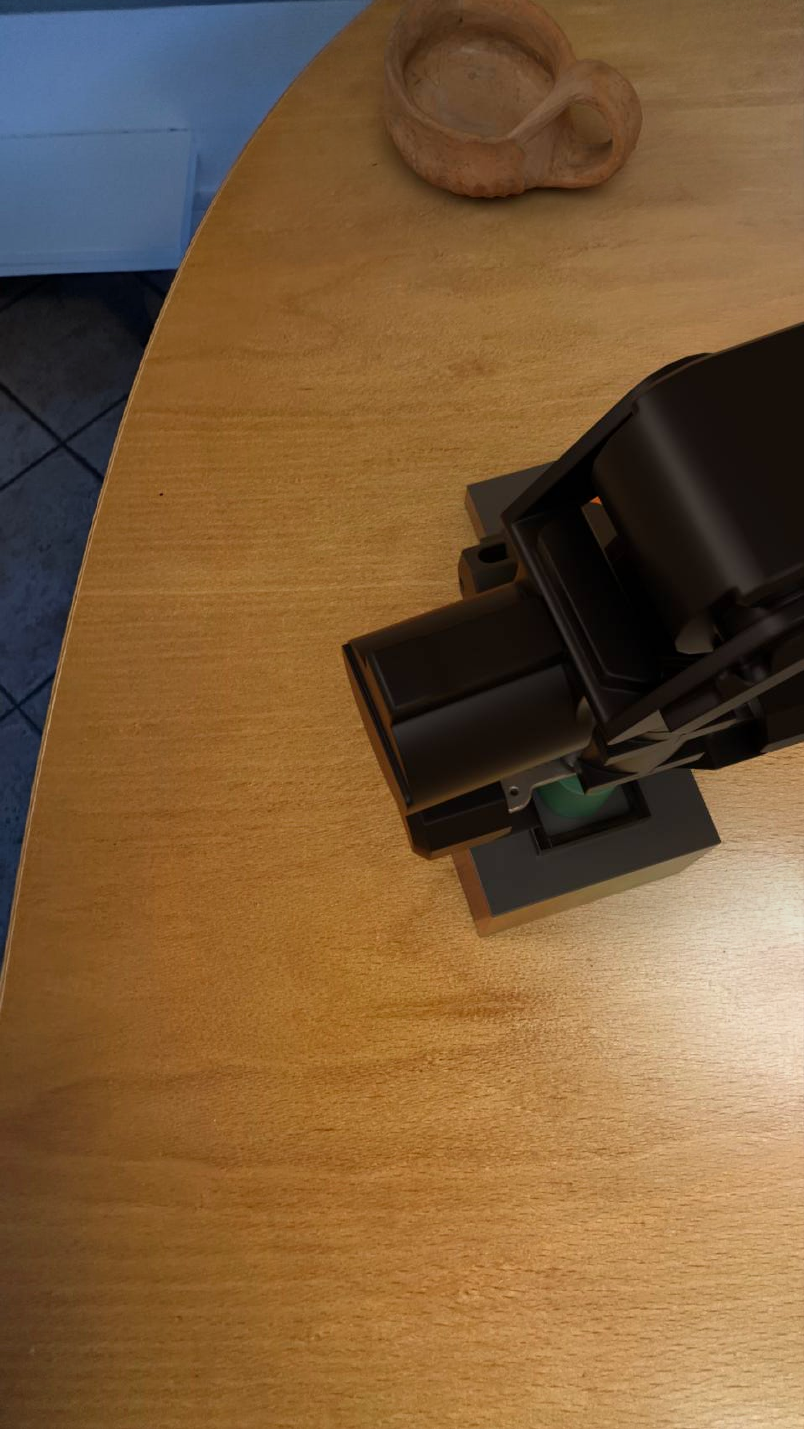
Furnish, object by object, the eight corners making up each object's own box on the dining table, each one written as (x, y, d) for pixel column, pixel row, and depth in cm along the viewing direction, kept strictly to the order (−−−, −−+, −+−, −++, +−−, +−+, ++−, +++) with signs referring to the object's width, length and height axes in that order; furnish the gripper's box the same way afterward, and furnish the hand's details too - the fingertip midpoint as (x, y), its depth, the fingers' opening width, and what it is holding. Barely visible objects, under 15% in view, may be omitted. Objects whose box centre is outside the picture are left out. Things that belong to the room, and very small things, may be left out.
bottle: (596, 741, 54) (622, 698, 47) (617, 809, 52) (647, 773, 46) (527, 758, 53) (544, 716, 47) (547, 826, 52) (568, 792, 46)
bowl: (646, 72, 77) (675, -31, 67) (610, 258, 77) (634, 181, 67) (406, 33, 78) (400, -75, 68) (369, 216, 77) (357, 134, 67)
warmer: (615, 712, 63) (650, 654, 54) (681, 872, 59) (728, 838, 51) (422, 772, 61) (427, 722, 53) (479, 938, 58) (493, 914, 50)
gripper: (797, 397, 40) (689, 580, 55) (324, 530, 38) (345, 683, 53) (932, 656, 37) (779, 777, 51) (421, 817, 35) (414, 895, 49)
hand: (577, 775), depth 51 cm, fingers open, 6 cm apart
